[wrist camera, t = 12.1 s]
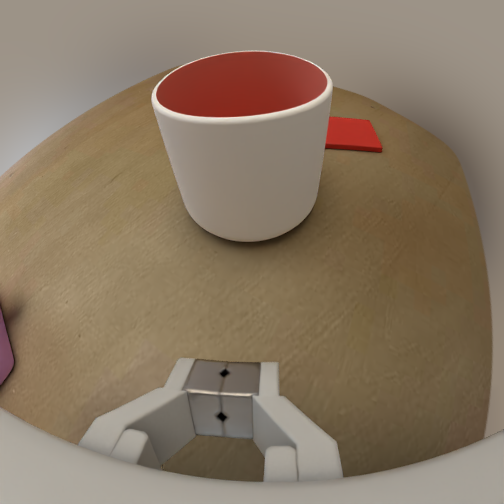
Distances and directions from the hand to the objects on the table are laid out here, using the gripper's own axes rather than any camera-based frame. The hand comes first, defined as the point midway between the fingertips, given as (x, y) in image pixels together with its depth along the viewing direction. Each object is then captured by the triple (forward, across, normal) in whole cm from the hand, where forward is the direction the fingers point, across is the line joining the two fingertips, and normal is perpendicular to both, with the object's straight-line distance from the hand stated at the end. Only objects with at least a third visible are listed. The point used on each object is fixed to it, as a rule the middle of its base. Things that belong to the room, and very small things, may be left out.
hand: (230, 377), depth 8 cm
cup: (+15, 0, -5) cm, 16 cm away
